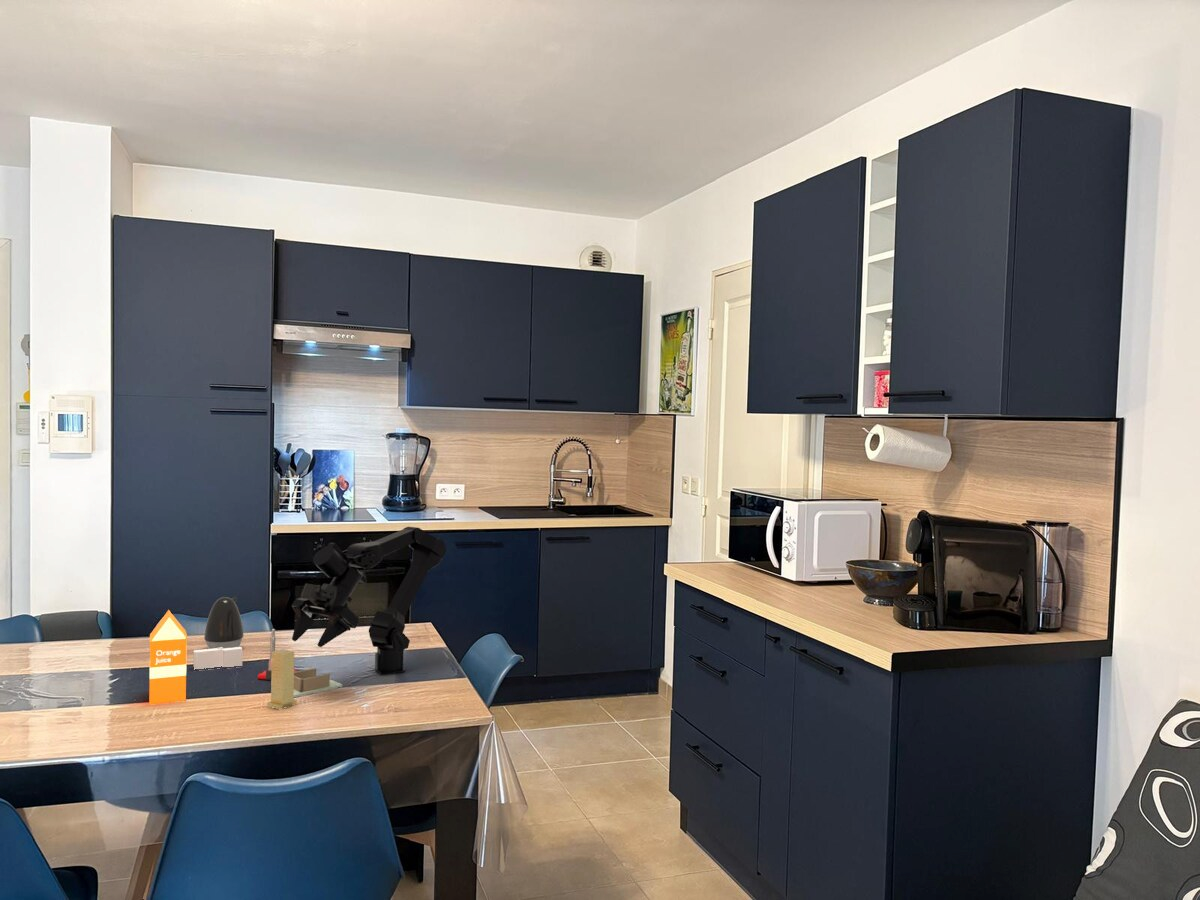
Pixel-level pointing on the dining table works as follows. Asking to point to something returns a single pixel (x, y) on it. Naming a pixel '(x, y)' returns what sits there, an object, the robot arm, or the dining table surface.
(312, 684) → the pale green slotted base
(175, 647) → the orange juice
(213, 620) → the black rounded cone
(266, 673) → the tow hook
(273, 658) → the gold square pillar
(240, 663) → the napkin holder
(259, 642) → the dining table surface
